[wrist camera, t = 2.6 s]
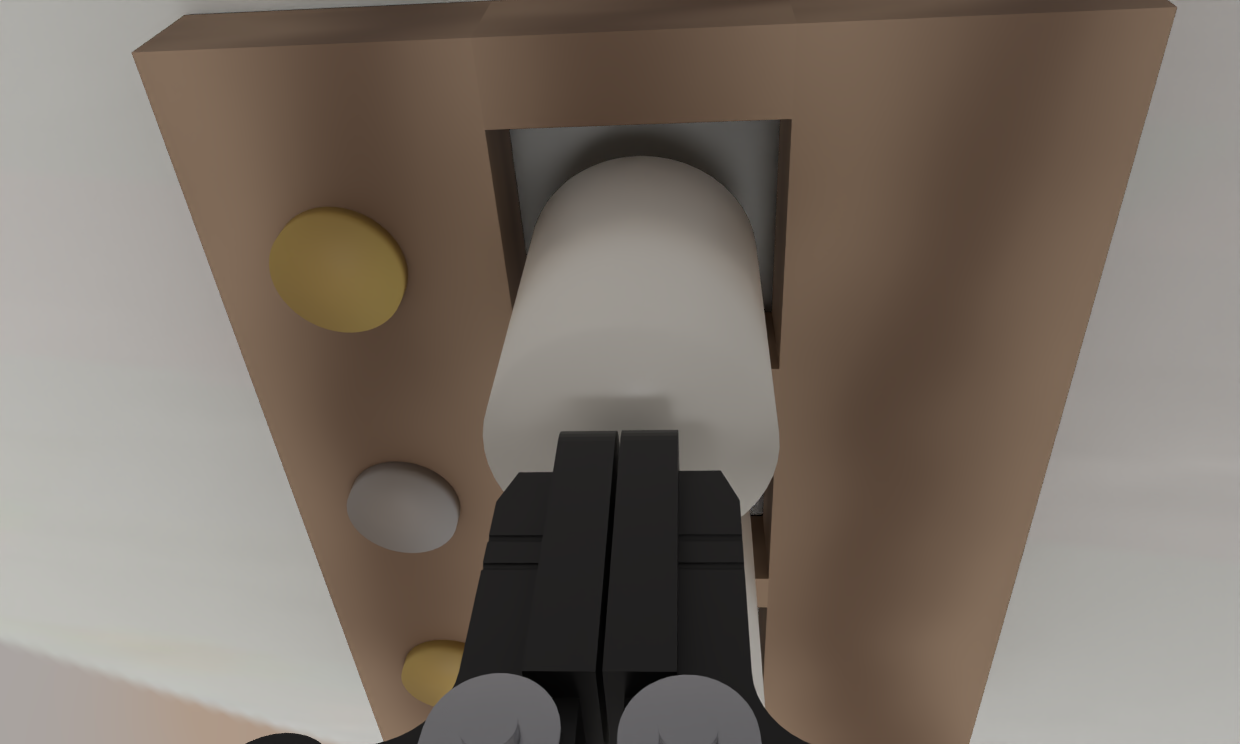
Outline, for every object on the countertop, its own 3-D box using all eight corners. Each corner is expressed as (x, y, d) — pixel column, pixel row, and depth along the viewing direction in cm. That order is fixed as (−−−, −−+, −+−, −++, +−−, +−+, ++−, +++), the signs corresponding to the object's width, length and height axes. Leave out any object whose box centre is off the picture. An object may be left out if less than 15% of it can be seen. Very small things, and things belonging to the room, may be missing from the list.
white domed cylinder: (759, 151, 15) (786, 323, 11) (753, 351, 18) (774, 550, 14) (517, 159, 16) (460, 329, 12) (543, 355, 18) (503, 550, 14)
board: (1126, -30, 15) (1189, 15, 14) (947, 699, 27) (966, 778, 25) (184, 15, 17) (119, 61, 15) (404, 693, 29) (384, 767, 27)
